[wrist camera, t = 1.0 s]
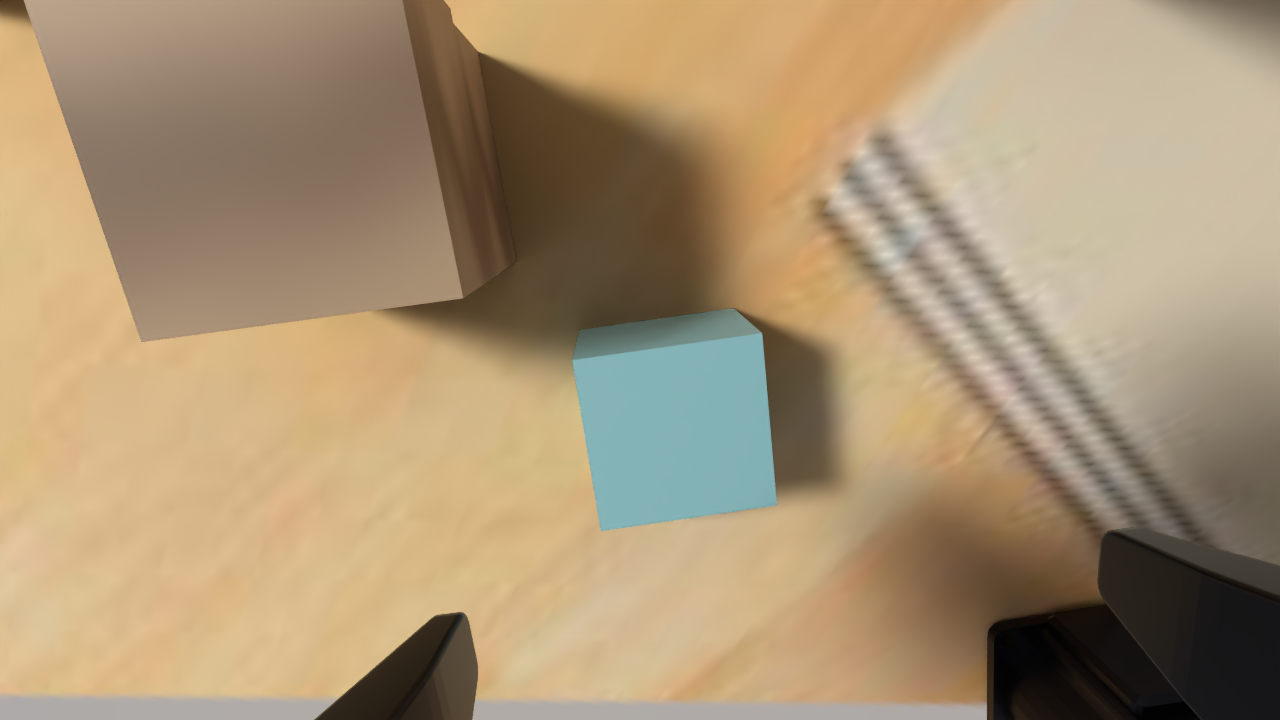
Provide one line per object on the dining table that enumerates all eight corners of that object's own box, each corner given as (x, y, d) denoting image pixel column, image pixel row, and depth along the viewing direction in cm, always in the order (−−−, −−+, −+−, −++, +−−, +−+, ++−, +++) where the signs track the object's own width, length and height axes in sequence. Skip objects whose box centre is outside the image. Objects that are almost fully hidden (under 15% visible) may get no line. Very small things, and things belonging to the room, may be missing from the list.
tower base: (517, 261, 19) (494, 276, 15) (325, 287, 19) (254, 310, 15) (478, 52, 18) (443, 11, 14) (270, 80, 18) (176, 47, 14)
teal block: (746, 449, 21) (776, 505, 17) (602, 470, 21) (601, 530, 17) (732, 307, 20) (761, 333, 16) (579, 328, 20) (572, 360, 16)
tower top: (499, 273, 15) (463, 298, 12) (259, 306, 15) (141, 342, 11) (450, 8, 14) (389, -66, 10) (183, 42, 14) (17, -18, 10)
